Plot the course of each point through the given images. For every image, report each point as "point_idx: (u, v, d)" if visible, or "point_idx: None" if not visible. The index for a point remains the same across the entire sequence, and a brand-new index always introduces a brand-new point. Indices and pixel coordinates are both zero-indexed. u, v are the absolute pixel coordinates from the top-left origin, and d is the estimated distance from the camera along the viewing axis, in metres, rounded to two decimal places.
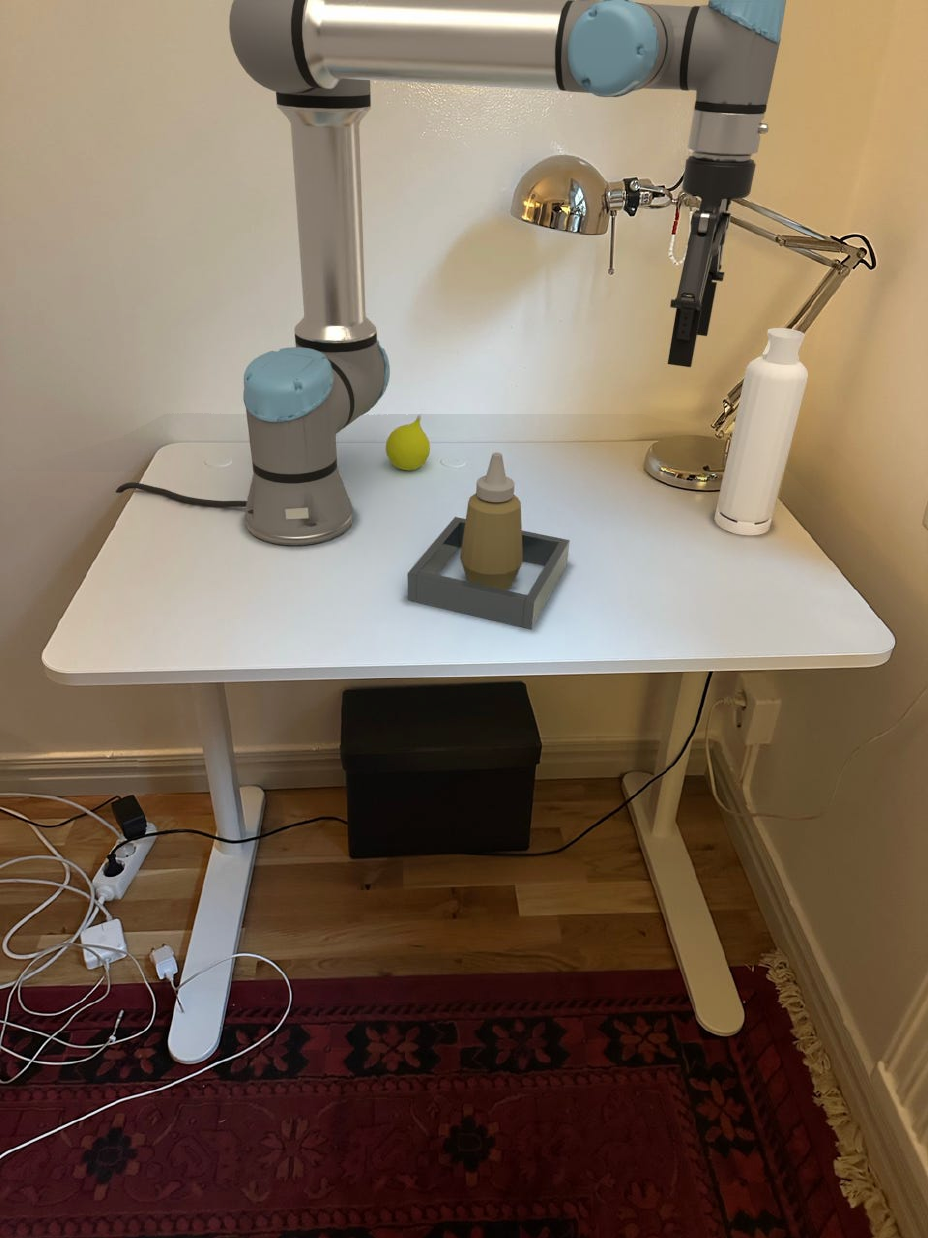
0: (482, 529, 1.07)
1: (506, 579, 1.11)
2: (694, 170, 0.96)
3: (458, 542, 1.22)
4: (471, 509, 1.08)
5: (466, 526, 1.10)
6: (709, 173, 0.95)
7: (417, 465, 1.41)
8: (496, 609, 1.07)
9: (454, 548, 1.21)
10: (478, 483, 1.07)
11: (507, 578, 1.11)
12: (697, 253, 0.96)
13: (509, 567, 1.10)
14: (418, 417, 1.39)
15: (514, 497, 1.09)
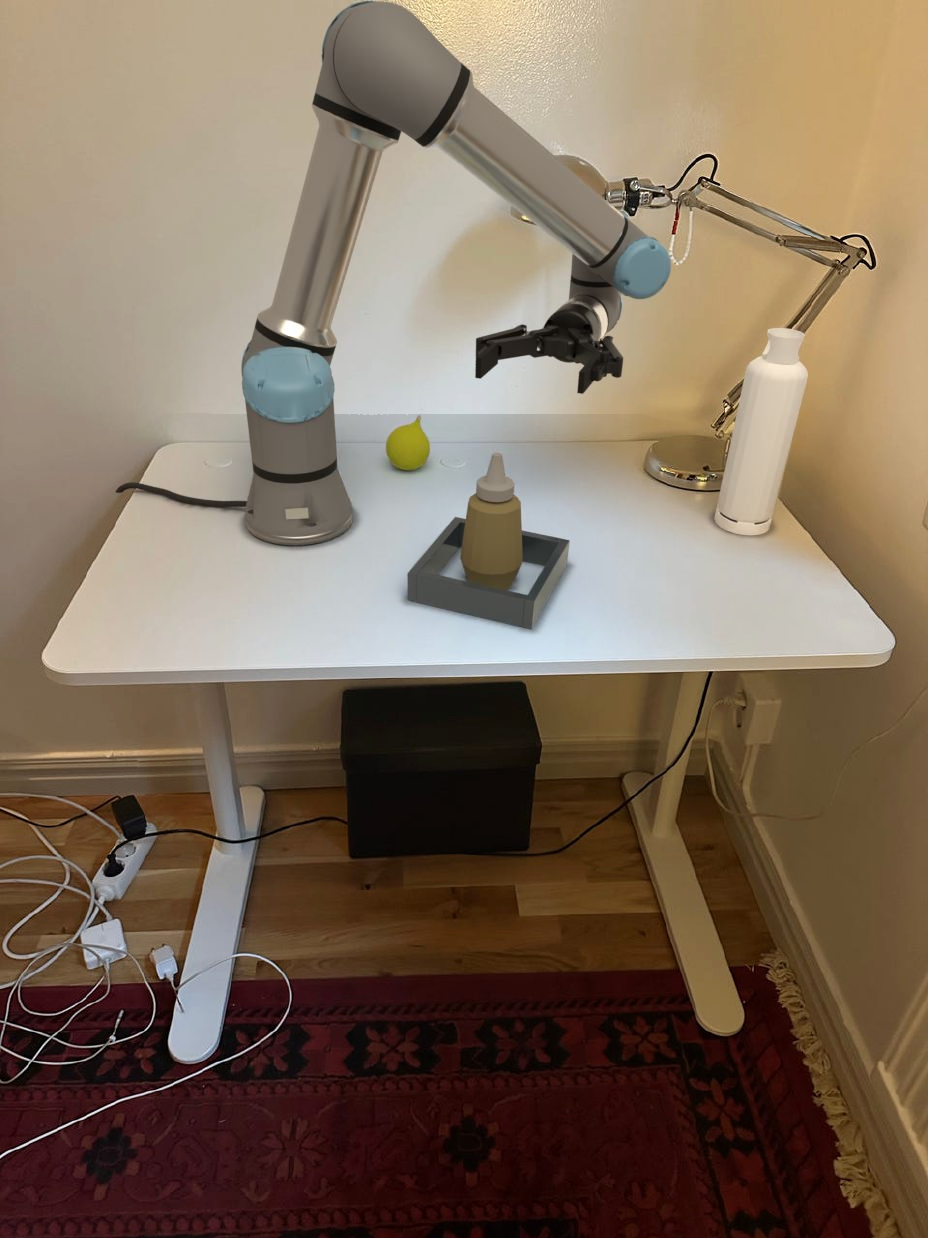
0: (482, 529, 1.07)
1: (506, 579, 1.11)
2: (593, 317, 1.24)
3: (458, 542, 1.22)
4: (471, 509, 1.08)
5: (466, 526, 1.10)
6: (597, 331, 1.24)
7: (417, 465, 1.41)
8: (496, 609, 1.07)
9: (454, 548, 1.21)
10: (478, 483, 1.07)
11: (507, 578, 1.11)
12: None
13: (509, 567, 1.10)
14: (418, 417, 1.39)
15: (514, 497, 1.09)
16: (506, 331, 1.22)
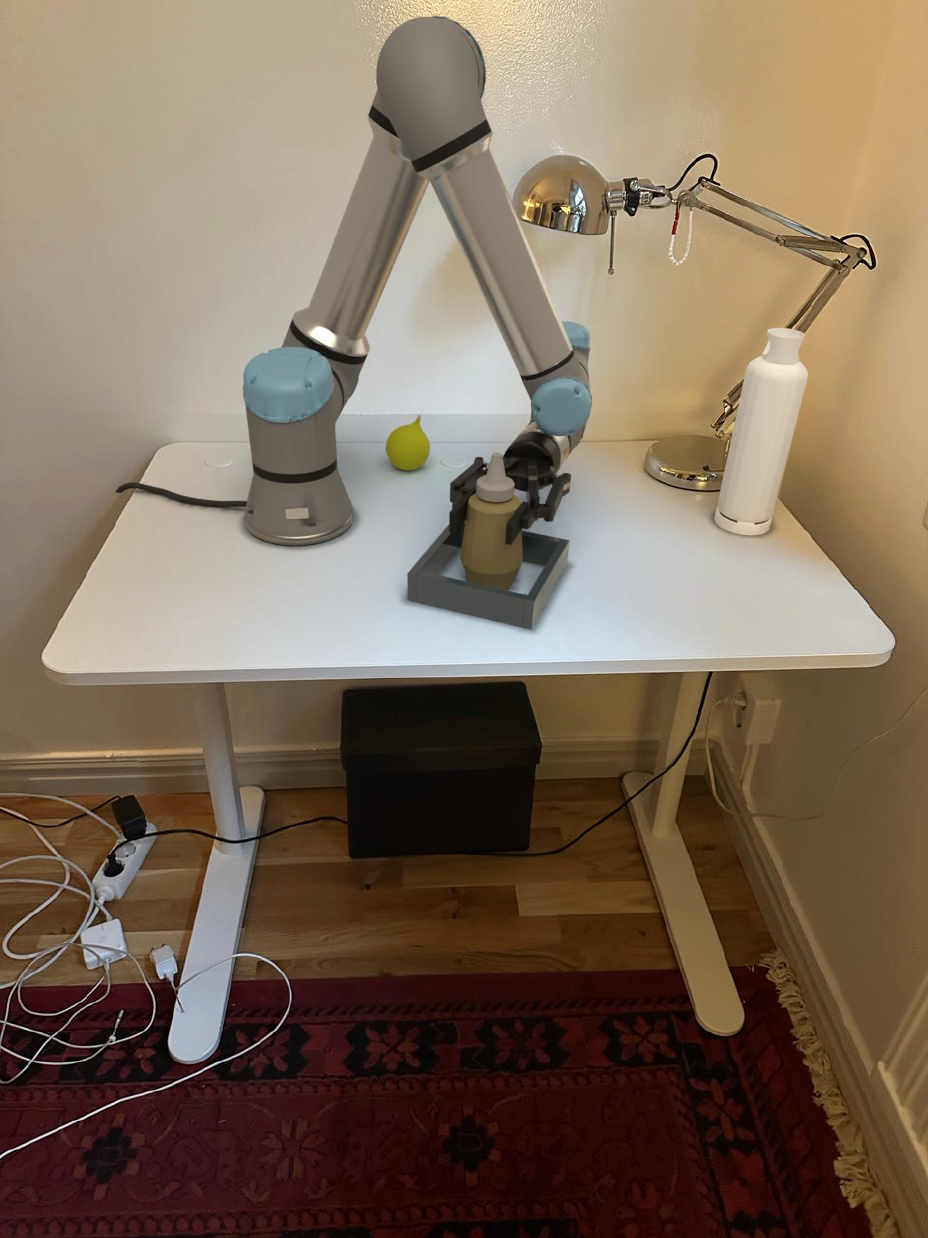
0: (482, 529, 1.07)
1: (506, 579, 1.11)
2: (554, 447, 1.20)
3: (458, 542, 1.22)
4: (471, 509, 1.08)
5: (466, 526, 1.10)
6: (559, 460, 1.21)
7: (417, 465, 1.41)
8: (496, 609, 1.07)
9: (454, 548, 1.21)
10: (478, 483, 1.07)
11: (507, 578, 1.11)
12: (560, 495, 1.14)
13: (509, 567, 1.10)
14: (418, 417, 1.39)
15: (514, 497, 1.09)
16: (470, 469, 1.16)
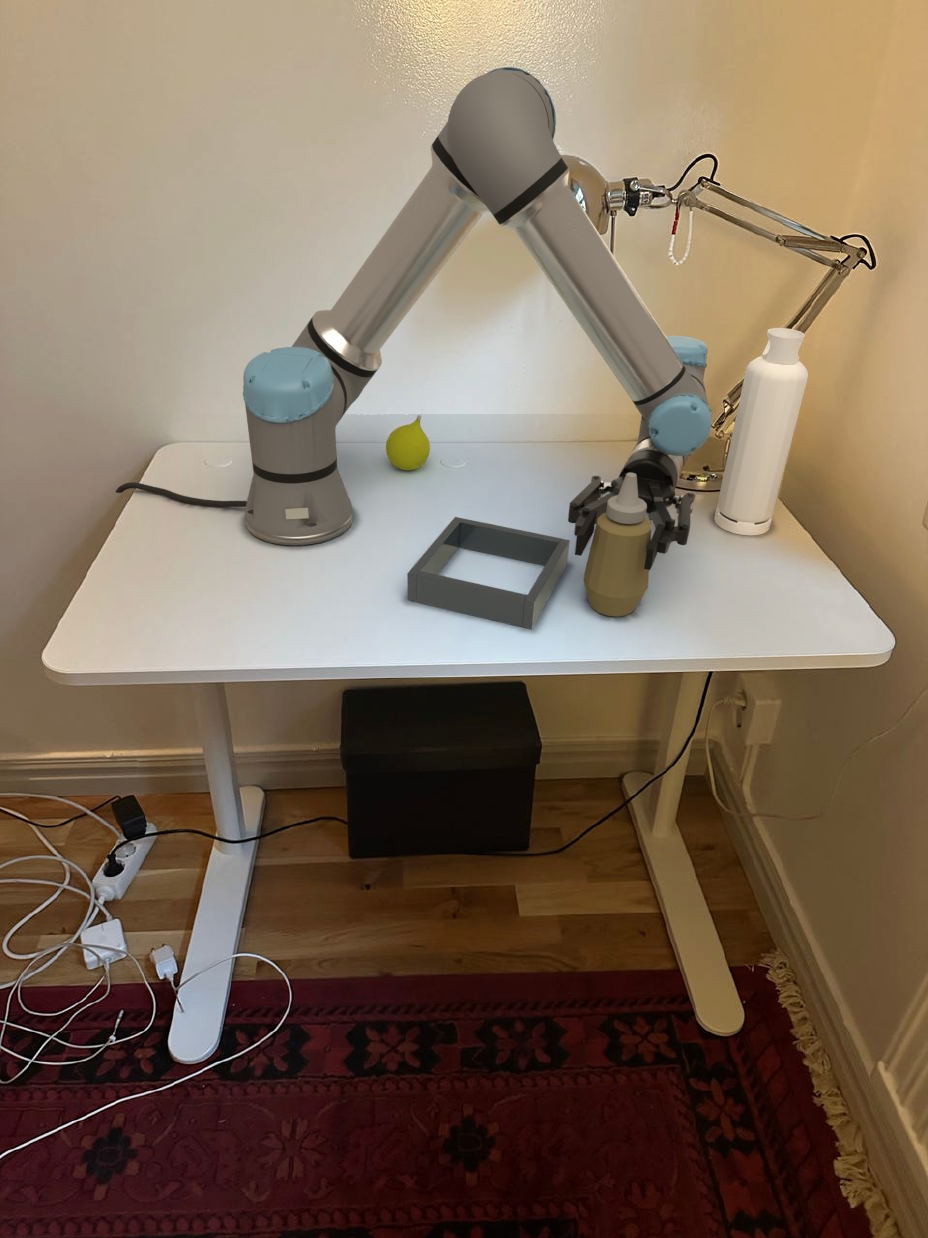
0: (613, 552, 1.04)
1: (633, 602, 1.08)
2: (673, 466, 1.17)
3: (458, 542, 1.22)
4: (601, 531, 1.04)
5: (594, 548, 1.06)
6: (676, 480, 1.17)
7: (417, 465, 1.41)
8: (496, 609, 1.07)
9: (454, 548, 1.21)
10: (610, 504, 1.03)
11: (634, 602, 1.08)
12: None
13: (638, 590, 1.07)
14: (418, 417, 1.39)
15: (644, 518, 1.05)
16: (588, 488, 1.13)
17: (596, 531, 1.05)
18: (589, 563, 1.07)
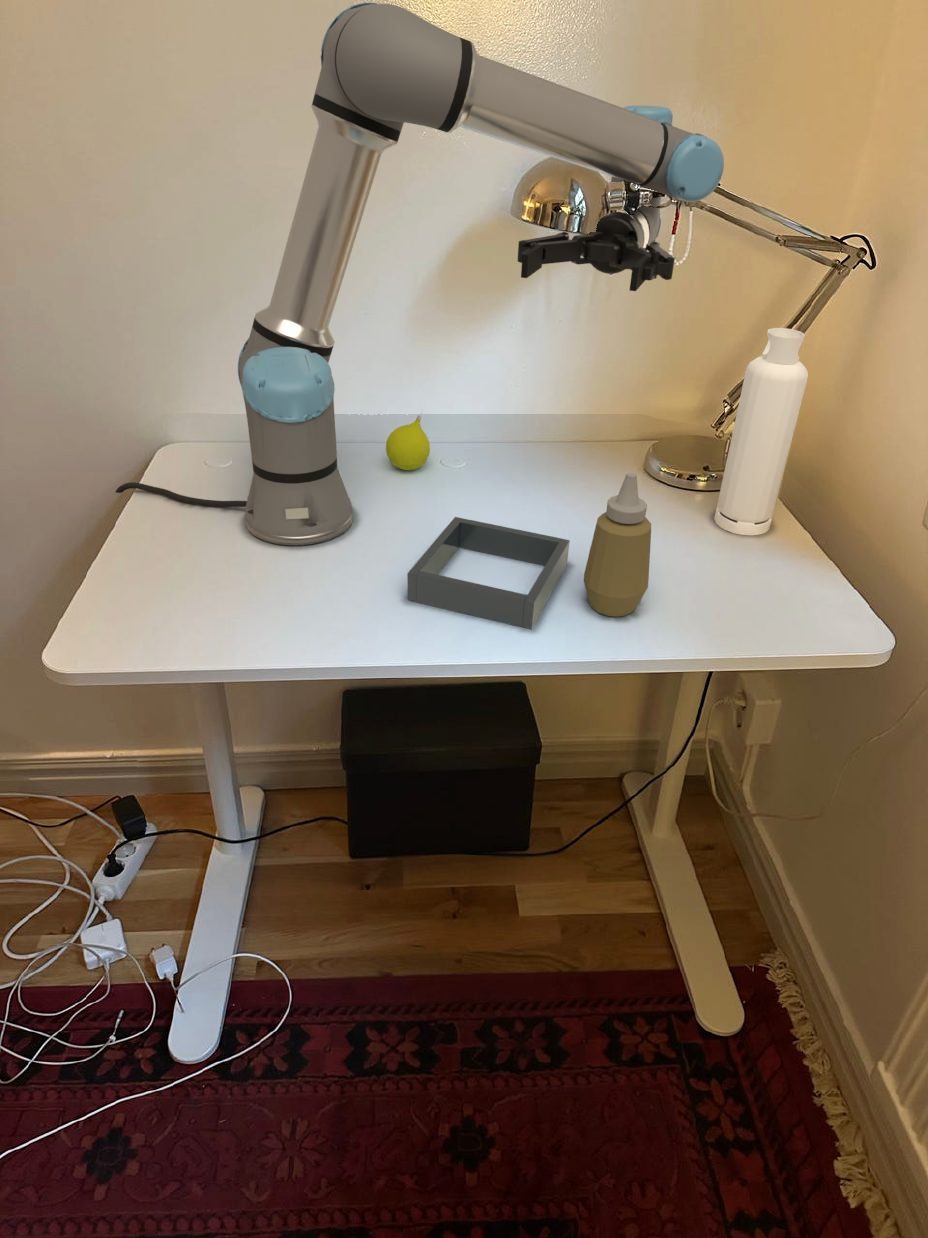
0: (613, 552, 1.04)
1: (633, 602, 1.08)
2: (637, 225, 1.20)
3: (458, 542, 1.22)
4: (601, 531, 1.04)
5: (594, 548, 1.06)
6: (641, 240, 1.20)
7: (417, 465, 1.41)
8: (496, 609, 1.07)
9: (454, 548, 1.21)
10: (610, 504, 1.03)
11: (634, 602, 1.08)
12: None
13: (638, 590, 1.07)
14: (418, 417, 1.39)
15: (644, 518, 1.05)
16: (548, 236, 1.17)
17: (596, 531, 1.05)
18: (589, 563, 1.07)
